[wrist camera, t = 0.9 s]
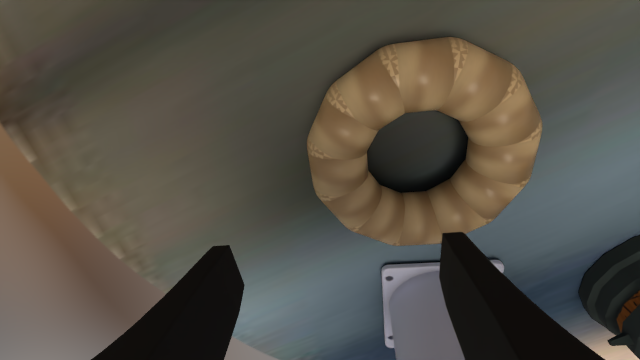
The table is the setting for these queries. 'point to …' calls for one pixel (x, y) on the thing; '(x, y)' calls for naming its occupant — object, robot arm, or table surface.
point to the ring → (414, 96)
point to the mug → (616, 293)
